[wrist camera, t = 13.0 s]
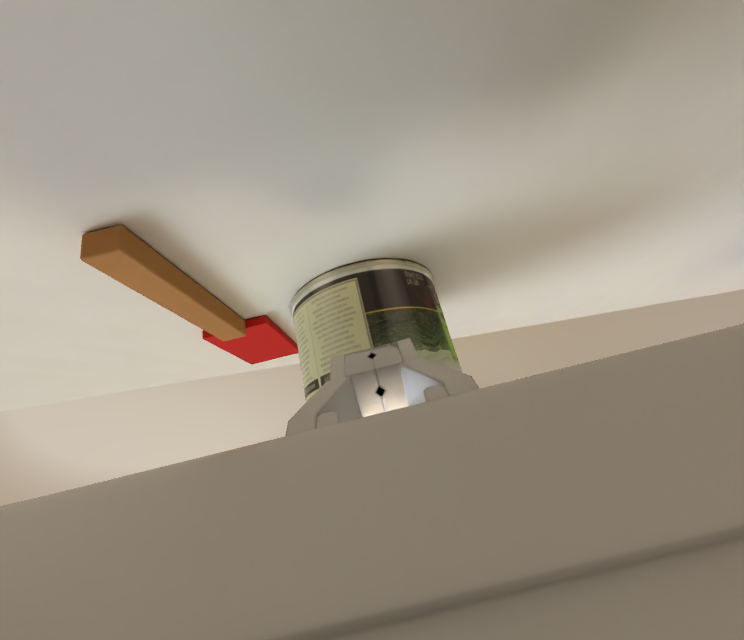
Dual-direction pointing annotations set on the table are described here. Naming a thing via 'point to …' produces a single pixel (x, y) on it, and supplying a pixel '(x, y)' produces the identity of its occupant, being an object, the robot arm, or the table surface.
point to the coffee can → (368, 316)
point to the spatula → (182, 295)
